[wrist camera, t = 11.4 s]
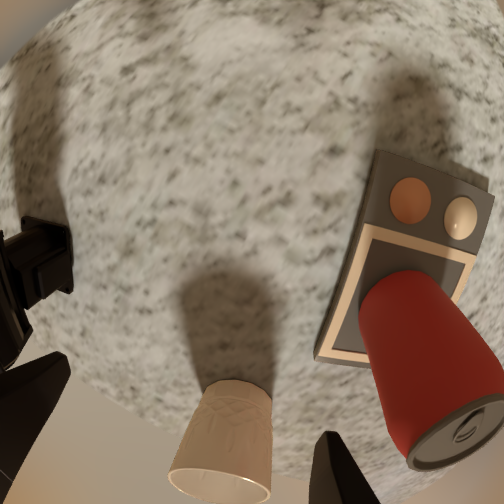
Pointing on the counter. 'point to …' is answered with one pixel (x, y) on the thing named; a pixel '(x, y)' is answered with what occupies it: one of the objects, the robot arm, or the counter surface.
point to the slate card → (404, 244)
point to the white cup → (227, 446)
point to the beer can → (430, 372)
